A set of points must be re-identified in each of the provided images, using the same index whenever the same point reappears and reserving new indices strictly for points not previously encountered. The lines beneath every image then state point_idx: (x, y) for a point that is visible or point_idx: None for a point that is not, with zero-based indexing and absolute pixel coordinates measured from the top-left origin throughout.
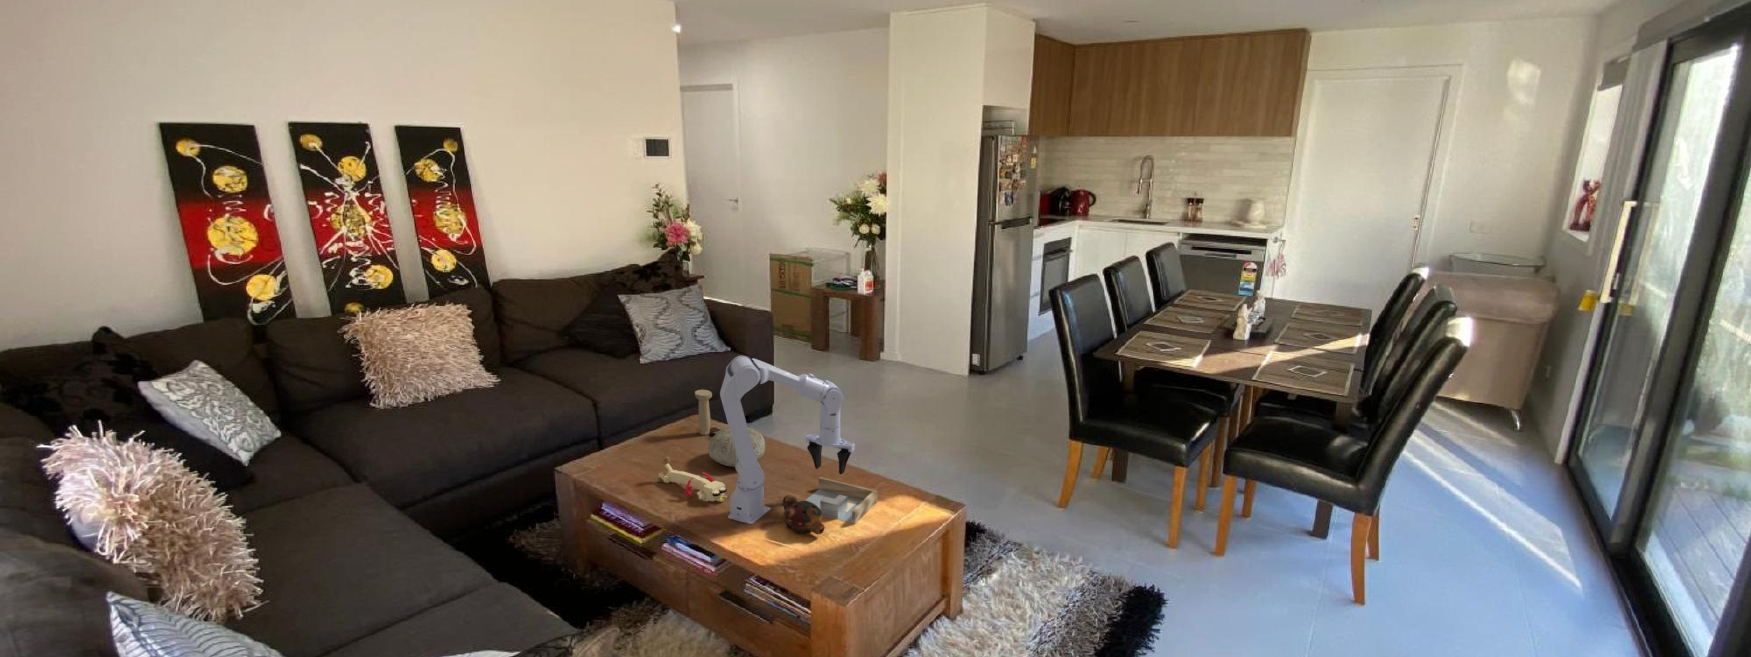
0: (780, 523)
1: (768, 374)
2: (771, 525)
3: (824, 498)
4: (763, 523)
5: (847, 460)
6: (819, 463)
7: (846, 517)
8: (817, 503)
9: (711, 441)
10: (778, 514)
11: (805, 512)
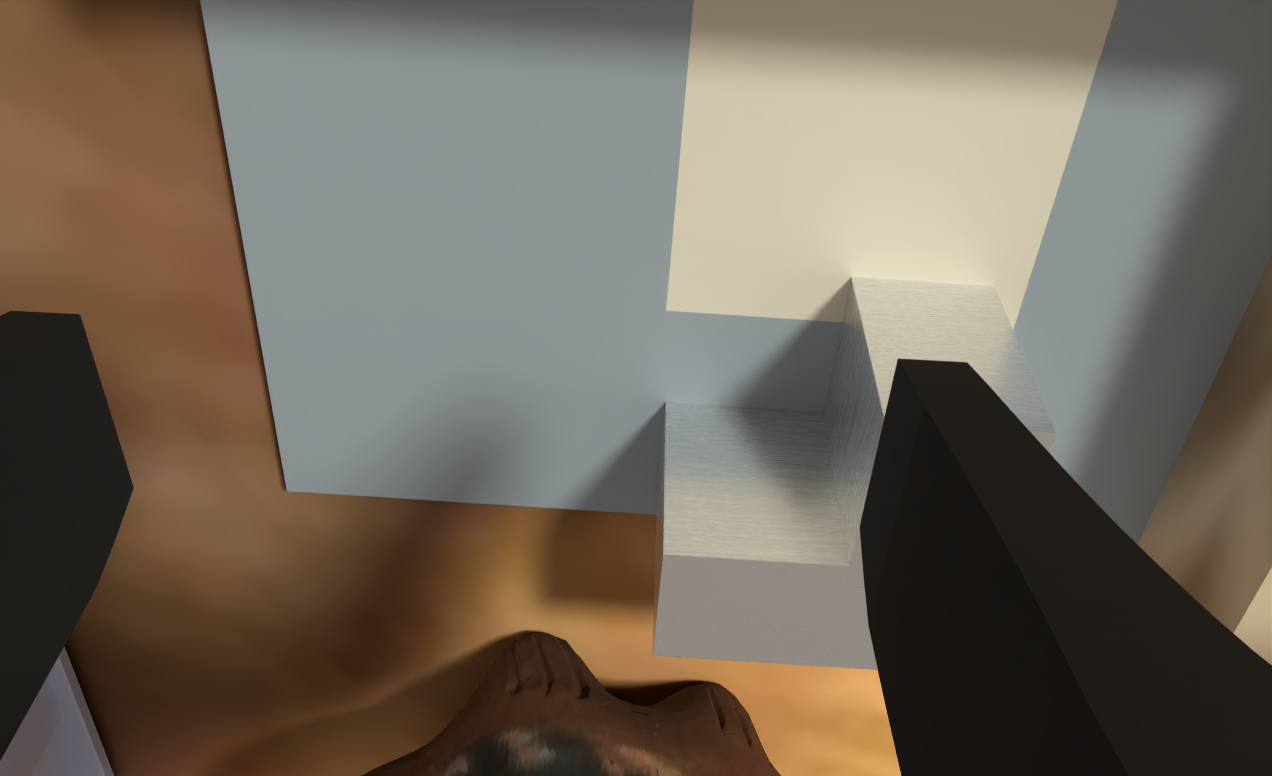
0: (341, 719)
1: None
2: (288, 762)
3: (681, 591)
4: (195, 759)
5: (1225, 660)
6: (37, 463)
7: None
8: (470, 286)
9: None
10: (191, 609)
11: (527, 682)
